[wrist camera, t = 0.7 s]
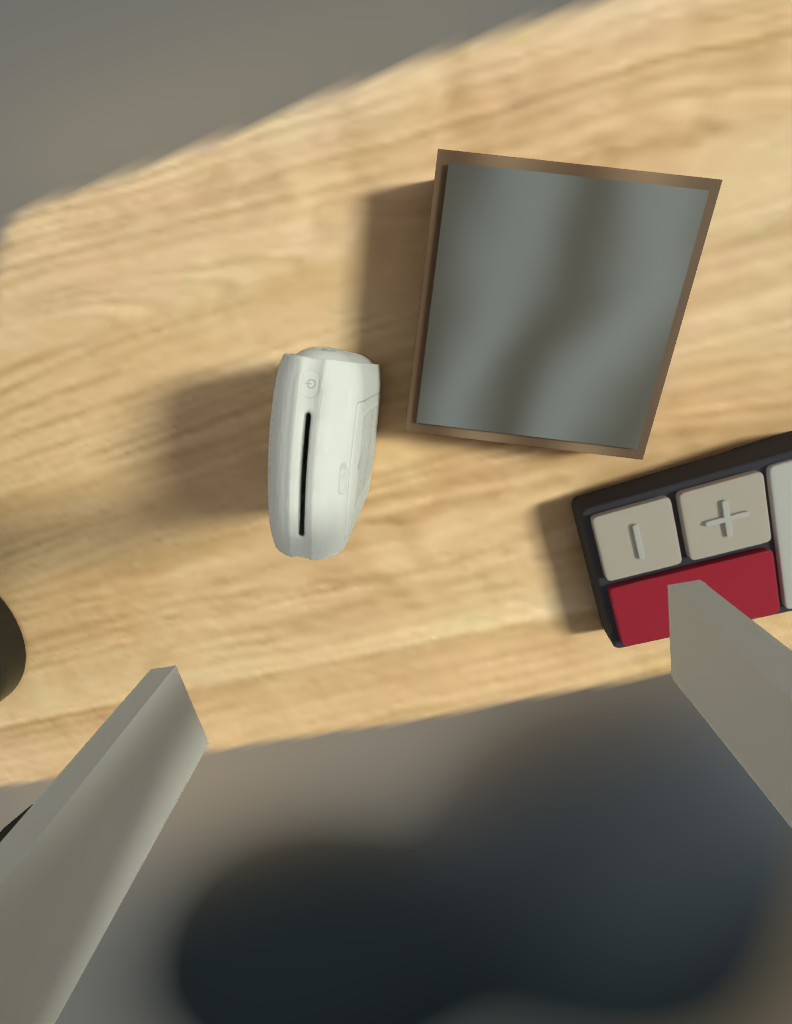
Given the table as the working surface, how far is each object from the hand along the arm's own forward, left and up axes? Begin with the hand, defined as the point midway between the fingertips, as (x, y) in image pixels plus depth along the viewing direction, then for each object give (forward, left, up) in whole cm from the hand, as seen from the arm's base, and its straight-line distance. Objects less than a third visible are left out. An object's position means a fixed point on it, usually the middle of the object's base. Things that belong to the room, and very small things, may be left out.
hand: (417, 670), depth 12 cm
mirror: (+6, +11, -21) cm, 24 cm away
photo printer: (-5, +3, -21) cm, 22 cm away
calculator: (+20, -2, -22) cm, 29 cm away
